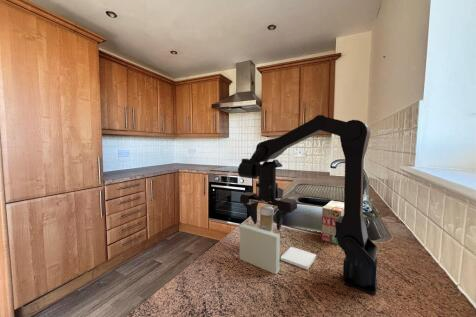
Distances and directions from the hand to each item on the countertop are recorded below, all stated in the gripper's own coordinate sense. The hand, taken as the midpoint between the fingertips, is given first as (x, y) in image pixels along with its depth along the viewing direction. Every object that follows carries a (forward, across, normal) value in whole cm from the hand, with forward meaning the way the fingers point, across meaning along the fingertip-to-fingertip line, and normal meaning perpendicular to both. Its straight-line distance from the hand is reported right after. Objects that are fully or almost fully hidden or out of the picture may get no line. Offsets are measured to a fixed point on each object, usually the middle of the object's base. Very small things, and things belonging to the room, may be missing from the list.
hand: (266, 226), depth 65 cm
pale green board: (+7, -3, +10) cm, 13 cm away
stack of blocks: (+7, -17, -27) cm, 33 cm away
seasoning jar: (+7, 0, 0) cm, 7 cm away
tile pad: (+7, -11, 0) cm, 13 cm away
